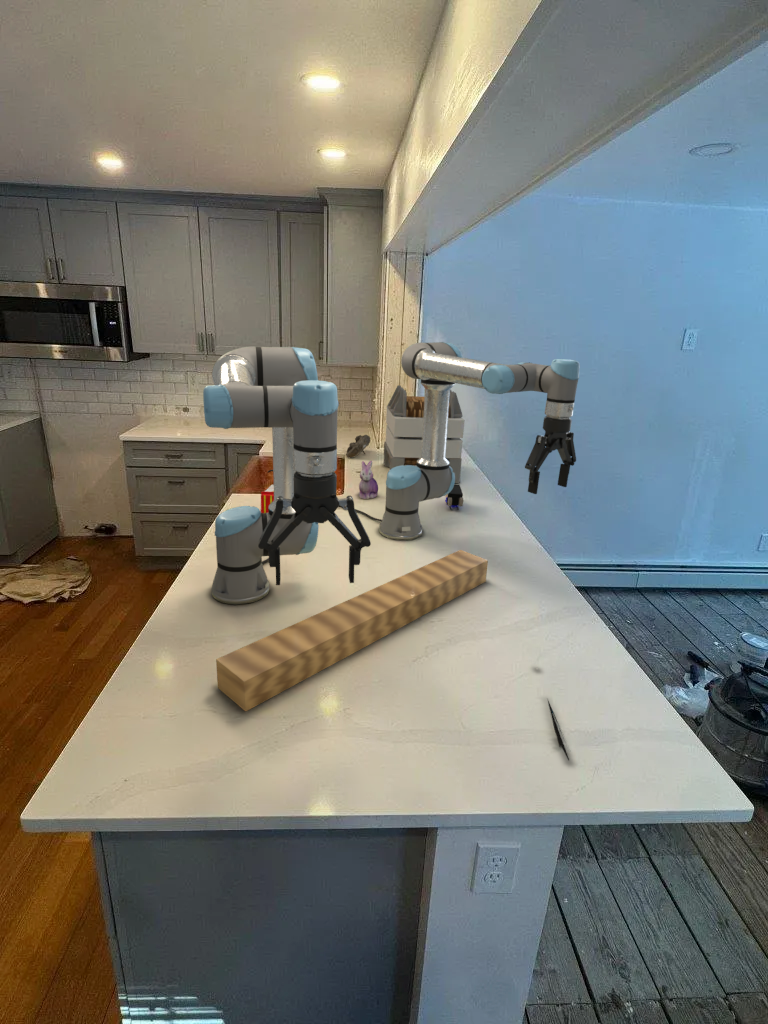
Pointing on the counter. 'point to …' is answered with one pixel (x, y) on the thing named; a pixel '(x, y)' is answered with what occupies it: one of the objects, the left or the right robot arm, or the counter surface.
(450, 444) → the grey slatted crate
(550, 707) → the feather
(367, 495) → the figurine
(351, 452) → the fossil
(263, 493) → the toy
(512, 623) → the counter surface
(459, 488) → the figurine character
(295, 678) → the long beam
